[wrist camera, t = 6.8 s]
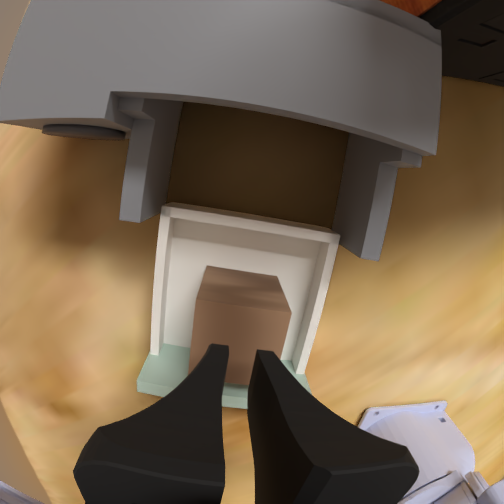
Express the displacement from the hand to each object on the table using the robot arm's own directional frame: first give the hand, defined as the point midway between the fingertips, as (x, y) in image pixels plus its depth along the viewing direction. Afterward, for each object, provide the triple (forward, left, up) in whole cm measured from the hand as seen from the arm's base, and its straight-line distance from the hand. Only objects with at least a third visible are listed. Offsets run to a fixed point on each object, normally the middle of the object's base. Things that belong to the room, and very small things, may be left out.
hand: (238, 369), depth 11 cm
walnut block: (0, 0, -7) cm, 7 cm away
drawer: (0, 0, -8) cm, 8 cm away
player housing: (+3, -10, -8) cm, 13 cm away
